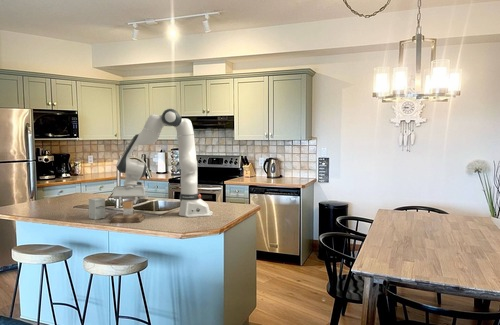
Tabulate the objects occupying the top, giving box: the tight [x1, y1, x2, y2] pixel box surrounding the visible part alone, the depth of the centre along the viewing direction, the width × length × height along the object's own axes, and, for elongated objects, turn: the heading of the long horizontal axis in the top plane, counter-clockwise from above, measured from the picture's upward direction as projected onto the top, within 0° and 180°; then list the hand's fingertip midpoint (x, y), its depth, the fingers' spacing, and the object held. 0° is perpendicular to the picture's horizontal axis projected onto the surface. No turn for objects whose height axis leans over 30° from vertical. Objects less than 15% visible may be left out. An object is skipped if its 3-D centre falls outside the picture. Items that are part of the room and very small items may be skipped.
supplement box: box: [88, 197, 106, 220], centre depth 238 cm, size 7×7×13 cm
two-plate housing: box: [122, 199, 134, 216], centre depth 233 cm, size 5×4×9 cm
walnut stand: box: [109, 212, 146, 224], centre depth 234 cm, size 18×16×3 cm
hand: (127, 203), depth 232 cm, fingers open, 6 cm apart
